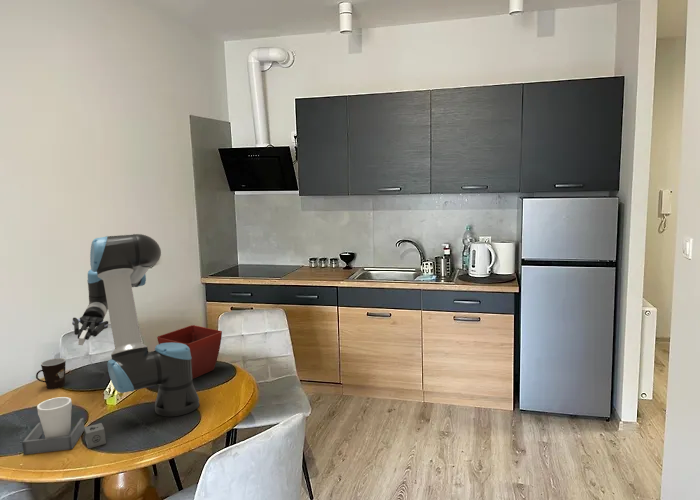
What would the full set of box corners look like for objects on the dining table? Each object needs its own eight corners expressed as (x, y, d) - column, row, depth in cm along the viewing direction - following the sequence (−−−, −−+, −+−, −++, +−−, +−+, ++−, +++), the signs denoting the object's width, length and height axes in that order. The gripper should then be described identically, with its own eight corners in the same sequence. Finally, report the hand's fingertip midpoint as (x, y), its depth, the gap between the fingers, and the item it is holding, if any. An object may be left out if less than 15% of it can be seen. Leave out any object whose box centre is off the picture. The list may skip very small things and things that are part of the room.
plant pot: (190, 384, 210) (186, 343, 208) (159, 375, 221) (155, 336, 218) (225, 369, 226) (223, 330, 224) (195, 361, 236) (192, 324, 234)
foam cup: (81, 439, 168) (77, 400, 166) (52, 453, 160) (47, 412, 159) (64, 432, 173) (60, 394, 171) (35, 445, 166) (30, 405, 164)
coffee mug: (64, 379, 218) (61, 356, 217) (71, 385, 212) (68, 361, 211) (32, 388, 210) (29, 364, 209) (38, 394, 204) (35, 369, 203)
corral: (84, 429, 175) (83, 418, 174) (72, 449, 162) (70, 436, 162) (39, 434, 172) (38, 422, 172) (23, 454, 160) (22, 442, 159)
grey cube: (85, 442, 167) (84, 427, 166) (102, 437, 169) (101, 422, 169) (88, 448, 163) (86, 433, 162) (105, 443, 165) (104, 428, 165)
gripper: (111, 325, 215) (99, 352, 193) (75, 321, 211) (59, 349, 189) (113, 308, 213) (101, 334, 191) (77, 304, 209) (61, 330, 187)
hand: (80, 341), depth 190 cm, fingers closed
